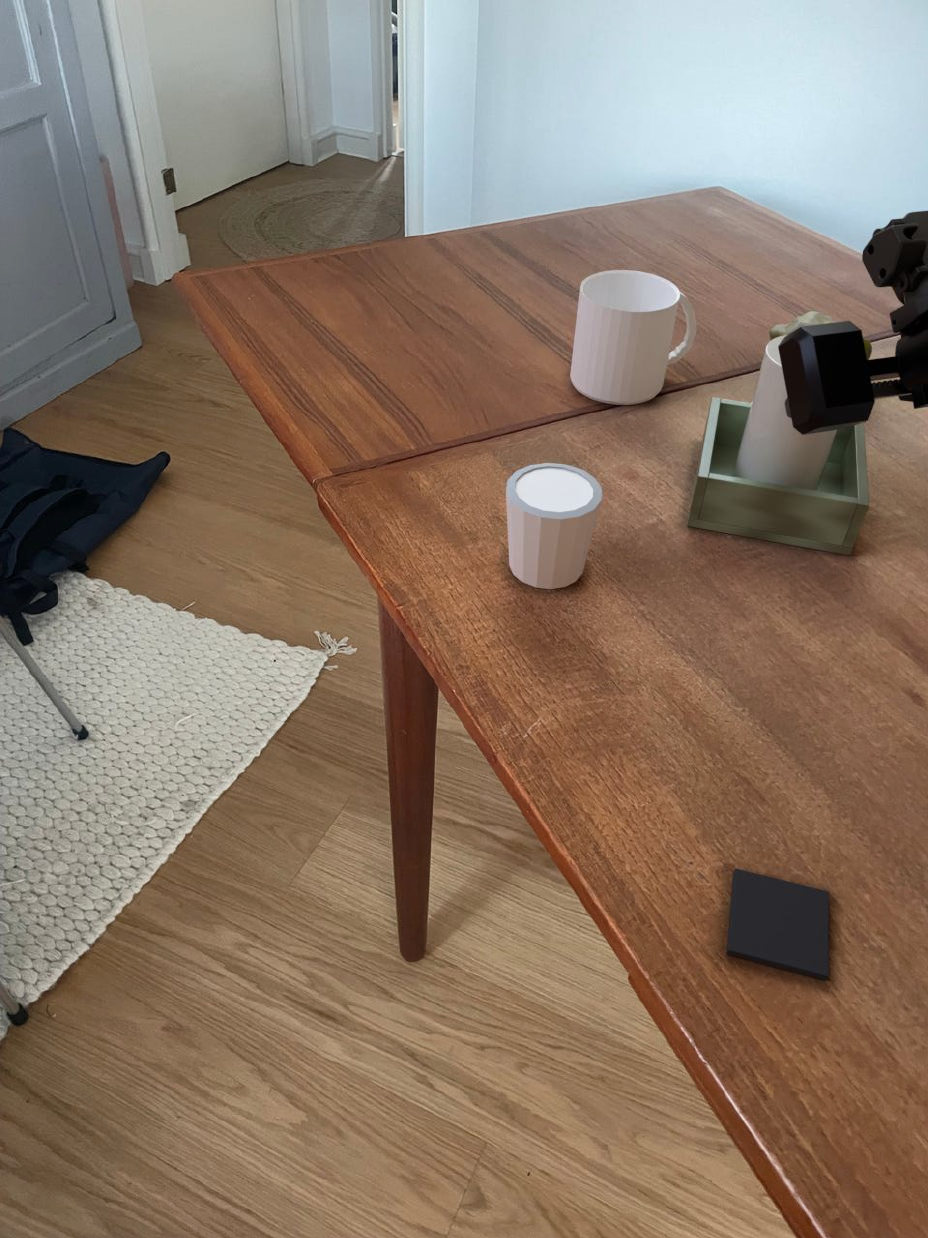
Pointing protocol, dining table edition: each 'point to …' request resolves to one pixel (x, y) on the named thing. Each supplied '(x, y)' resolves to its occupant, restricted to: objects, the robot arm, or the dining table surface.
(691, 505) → the wooden box
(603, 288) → the mug
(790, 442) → the white cylinder
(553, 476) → the faceted white cup
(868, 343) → the fruit
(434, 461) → the dining table surface
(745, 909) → the coaster
